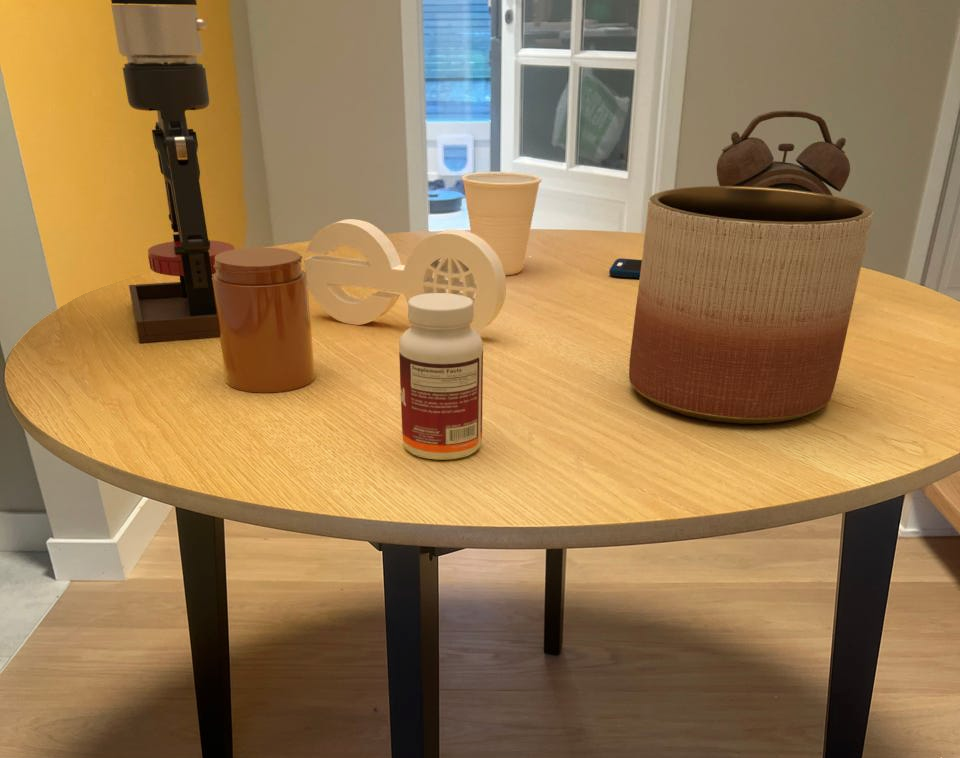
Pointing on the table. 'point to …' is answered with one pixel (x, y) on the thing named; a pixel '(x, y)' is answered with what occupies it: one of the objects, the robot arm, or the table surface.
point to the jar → (263, 319)
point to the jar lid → (179, 257)
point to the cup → (502, 212)
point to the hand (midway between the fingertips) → (199, 307)
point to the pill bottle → (441, 378)
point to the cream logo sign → (402, 272)
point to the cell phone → (626, 268)
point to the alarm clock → (756, 166)
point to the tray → (168, 314)
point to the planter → (745, 300)
